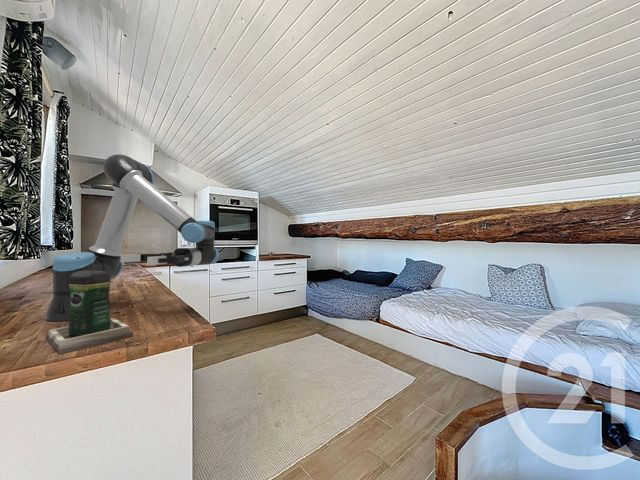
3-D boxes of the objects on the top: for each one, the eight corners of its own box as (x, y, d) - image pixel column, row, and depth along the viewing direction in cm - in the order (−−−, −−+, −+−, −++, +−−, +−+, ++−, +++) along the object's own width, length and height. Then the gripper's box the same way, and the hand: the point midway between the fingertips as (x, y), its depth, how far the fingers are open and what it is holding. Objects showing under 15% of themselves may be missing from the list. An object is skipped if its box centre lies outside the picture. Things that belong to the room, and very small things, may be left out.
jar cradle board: (45, 338, 79) (45, 328, 79) (112, 324, 92) (112, 316, 92) (59, 354, 68) (59, 343, 68) (132, 336, 81) (133, 327, 81)
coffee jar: (115, 330, 82) (116, 269, 82) (87, 340, 75) (87, 272, 75) (92, 327, 85) (93, 268, 85) (62, 336, 77) (63, 271, 77)
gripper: (209, 268, 107) (159, 273, 87) (164, 264, 116) (110, 268, 97) (210, 249, 107) (160, 250, 87) (165, 246, 116) (111, 247, 97)
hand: (134, 259), depth 92 cm, fingers open, 13 cm apart
